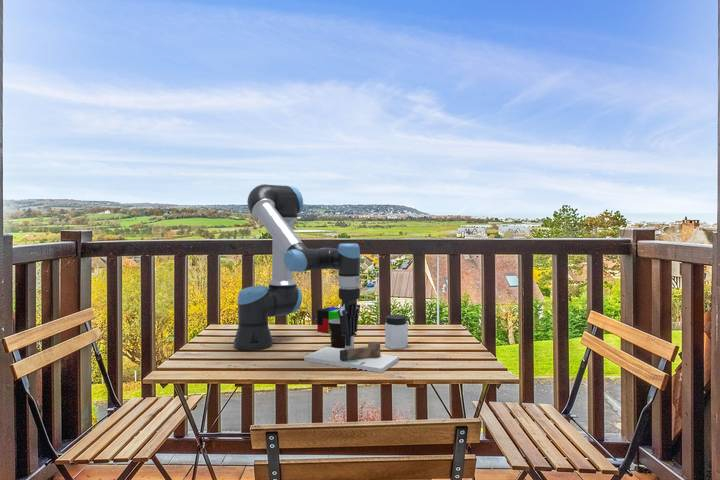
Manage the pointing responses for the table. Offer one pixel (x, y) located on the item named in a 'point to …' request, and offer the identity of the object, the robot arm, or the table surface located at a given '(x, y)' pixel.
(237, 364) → the table surface
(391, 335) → the jar
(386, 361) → the board
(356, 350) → the peg pointer
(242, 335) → the robot arm
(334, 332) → the coffee mug
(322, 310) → the puzzle toy
